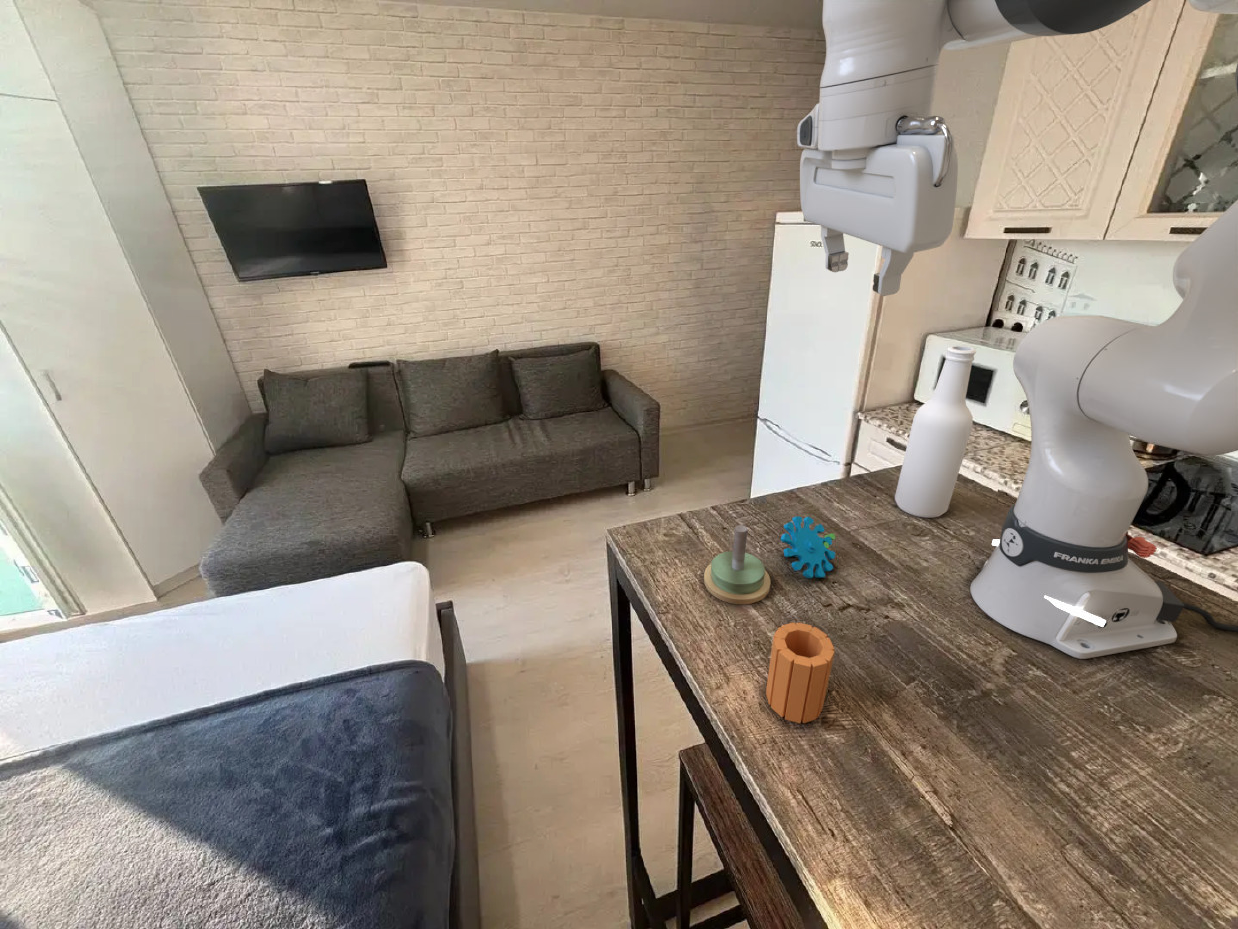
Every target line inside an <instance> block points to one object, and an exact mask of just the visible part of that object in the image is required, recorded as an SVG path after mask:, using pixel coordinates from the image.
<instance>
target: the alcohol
mask: <svg viewBox="0 0 1238 929" xmlns="http://www.w3.org/2000/svg"><path fill="white" fill-rule="evenodd" d="M946 351H947V353H946V354H945V357H944V358H945V360H944V363H943V366H942V368H941V372H940V375H939V377H938V381H937V384H936V386H935V389H934V391H933V394H932V396H931V397H930V399H929V400H928V401H926V402H925V403H923V404H922V405H920V407H919V408H918V409H917V411H916V412H915V414H914V416H913V420H912V423H911V428H910V431H909V435H908V439H907V444H906V448H905V453H904V457H903V461H902V465H901V468H900V473H899V477H898V482H897V486H896V491H895V494H894V501H895V503H896V505H897V507H898V508H899V509H900V510H902V511H903V512H905V513H907V514H908V515H912V516H915V517H919V518H926V519H933V518H938V517H941V516H943V514H945V513H946V512H947V511H948V510H949V508H950V504H951V500H952V496H953V493H954V490H955V486H956V483H957V481H958V476H959V474H960V470H961V467H962V463H963V460H964V456H965V453H966V449H967V448H968V442H969V439H970V437H971V433H972V430H973V426H974V425H973V424H974V423H973V422H974V420H973V414H972V413H971V410H970V409H969V407H968V406H967V401H966V397H967V394H968V393H967V392H968V387H969V382H970V377H971V376H970V375H971V371H972V366H973V362H974V361H975V355H976V353H977V350H976V349H975V348H973V347H971V346H965V345H952V346H949V347H948V348H946Z"/></svg>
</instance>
